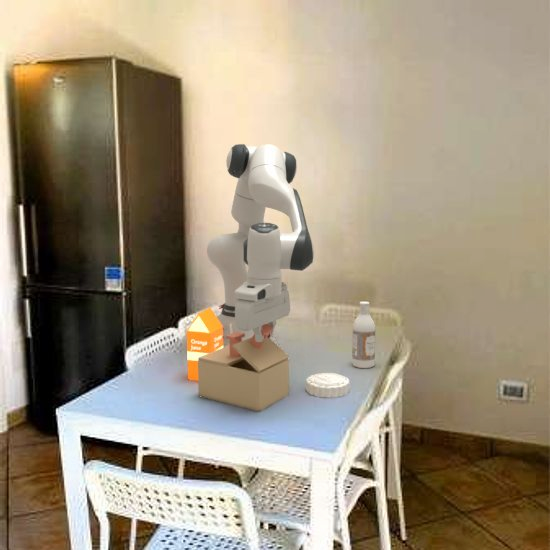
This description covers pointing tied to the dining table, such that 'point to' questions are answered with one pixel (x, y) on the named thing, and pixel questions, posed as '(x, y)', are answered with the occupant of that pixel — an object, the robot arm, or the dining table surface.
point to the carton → (244, 384)
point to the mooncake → (327, 385)
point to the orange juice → (202, 339)
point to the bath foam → (363, 339)
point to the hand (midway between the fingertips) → (264, 339)
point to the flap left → (225, 352)
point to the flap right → (261, 351)
